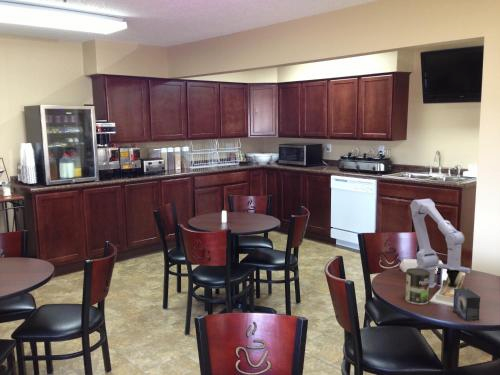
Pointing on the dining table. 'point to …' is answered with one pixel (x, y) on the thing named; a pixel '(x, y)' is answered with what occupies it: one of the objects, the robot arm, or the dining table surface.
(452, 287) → the lever
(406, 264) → the crystal
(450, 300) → the beige flat block
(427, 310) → the dining table surface
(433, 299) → the lever base
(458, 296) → the small box
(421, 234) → the robot arm
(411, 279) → the coffee can
